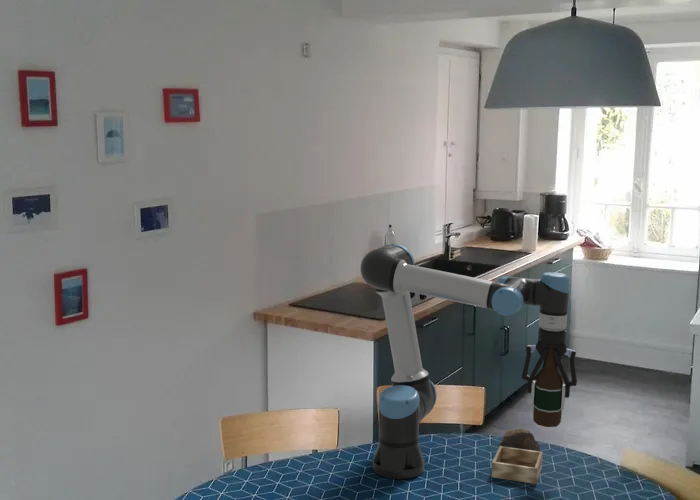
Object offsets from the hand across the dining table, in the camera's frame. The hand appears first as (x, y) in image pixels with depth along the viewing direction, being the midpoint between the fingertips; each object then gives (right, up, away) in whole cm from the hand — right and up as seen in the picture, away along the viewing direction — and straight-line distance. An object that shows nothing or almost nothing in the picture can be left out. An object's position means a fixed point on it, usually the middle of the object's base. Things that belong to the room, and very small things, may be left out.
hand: (547, 405), depth 212 cm
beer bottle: (0, -5, +1) cm, 5 cm away
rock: (-4, -18, +18) cm, 26 cm away
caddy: (-8, -20, +4) cm, 22 cm away
